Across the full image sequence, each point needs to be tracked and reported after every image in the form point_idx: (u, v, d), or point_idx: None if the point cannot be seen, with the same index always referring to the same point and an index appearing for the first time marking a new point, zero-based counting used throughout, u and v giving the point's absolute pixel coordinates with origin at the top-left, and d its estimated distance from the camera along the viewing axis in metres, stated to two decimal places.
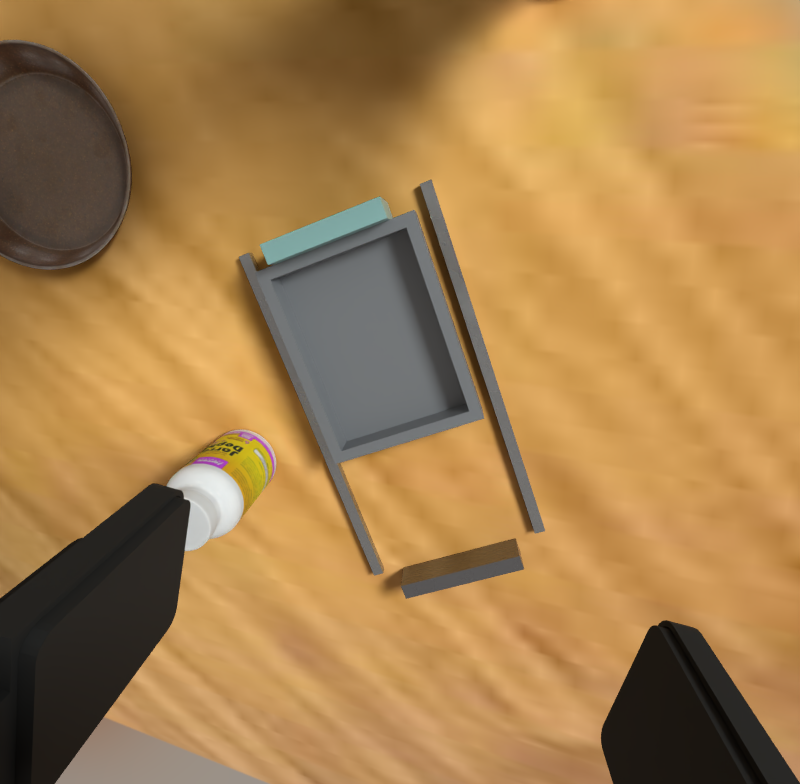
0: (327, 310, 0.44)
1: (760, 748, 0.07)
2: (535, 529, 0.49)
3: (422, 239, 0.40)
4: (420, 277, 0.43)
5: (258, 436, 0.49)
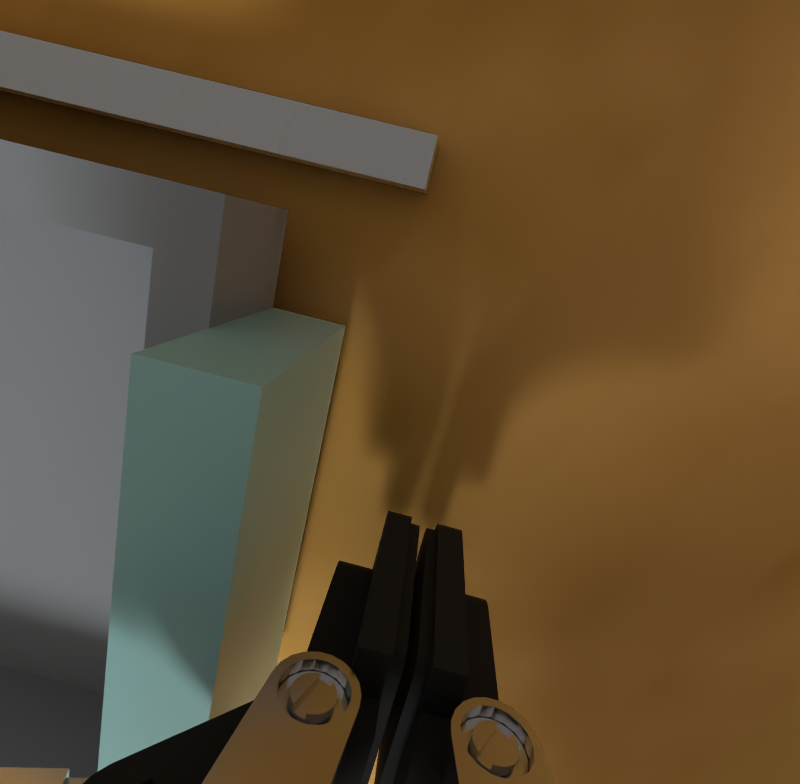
0: (25, 342, 0.11)
1: (449, 603, 0.08)
2: None
3: None
4: (15, 657, 0.13)
5: None
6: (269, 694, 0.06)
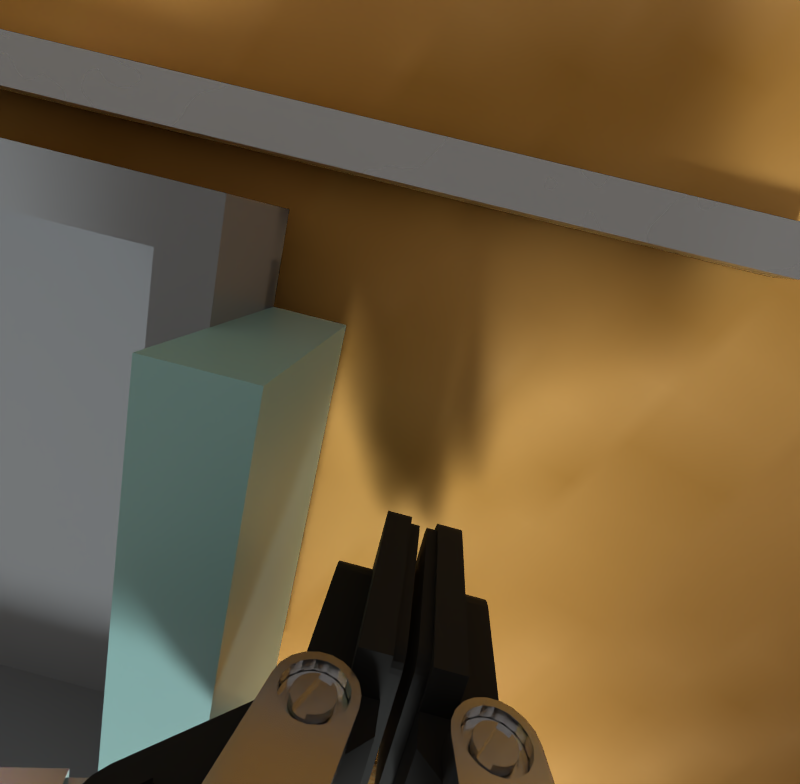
0: (26, 342, 0.11)
1: (449, 603, 0.08)
2: None
3: None
4: (16, 656, 0.13)
5: None
6: (269, 694, 0.06)
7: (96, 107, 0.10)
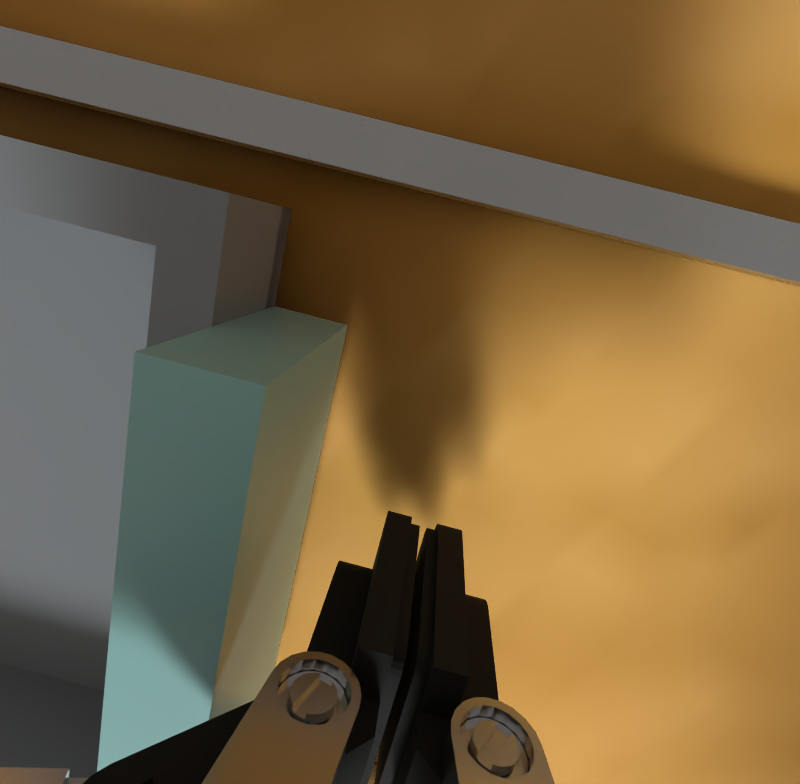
0: (27, 340, 0.11)
1: (449, 603, 0.08)
2: None
3: None
4: (14, 654, 0.13)
5: None
6: (269, 694, 0.06)
7: (315, 159, 0.10)
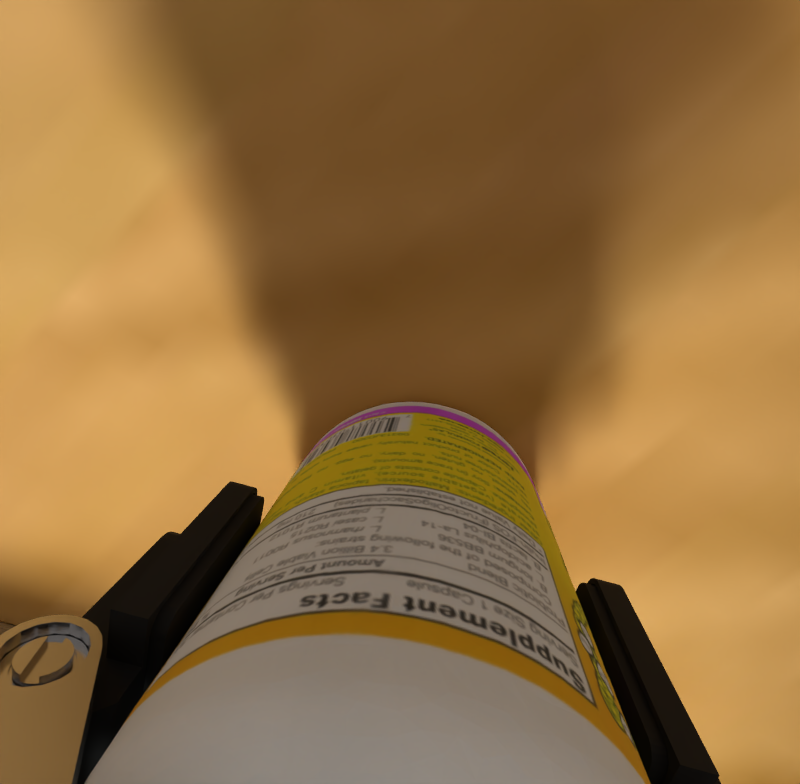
0: None
1: (655, 680, 0.08)
2: None
3: None
4: None
5: None
6: None
7: None
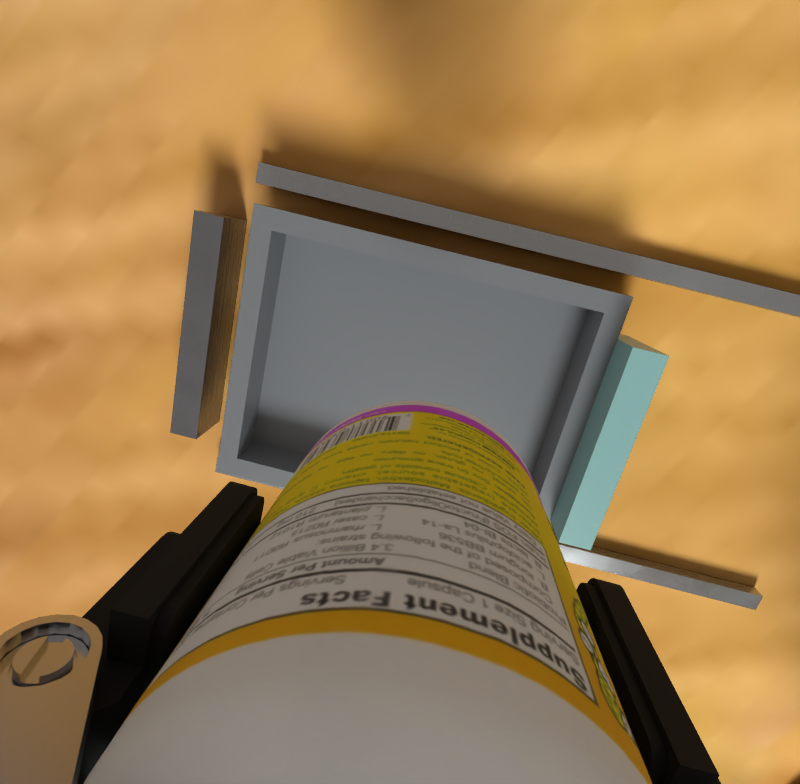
0: (497, 343, 0.27)
1: (655, 680, 0.08)
2: None
3: None
4: None
5: None
6: None
7: (626, 273, 0.26)
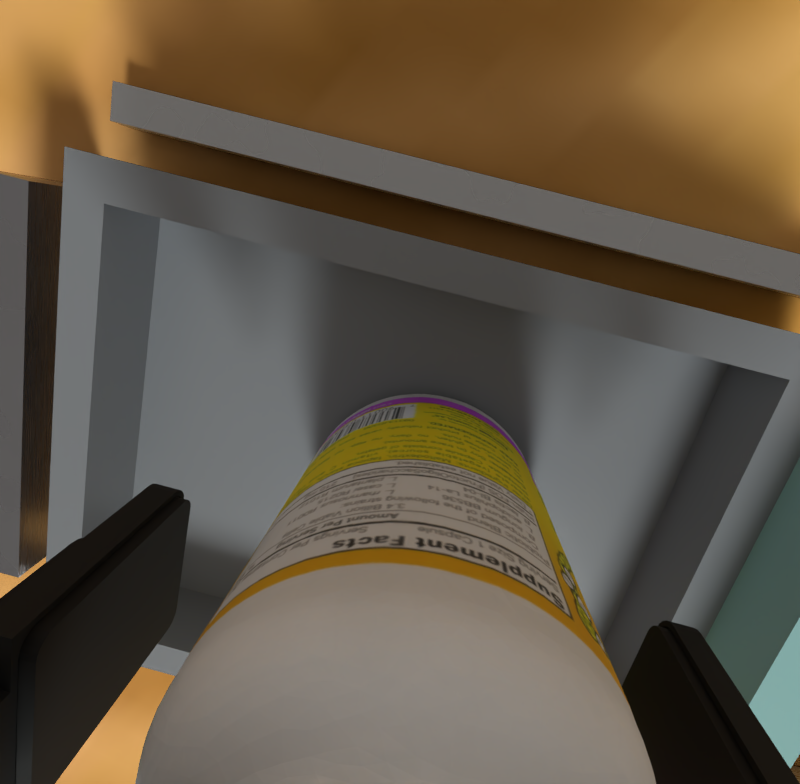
0: (552, 419, 0.14)
1: (760, 748, 0.07)
2: None
3: None
4: None
5: None
6: None
7: None
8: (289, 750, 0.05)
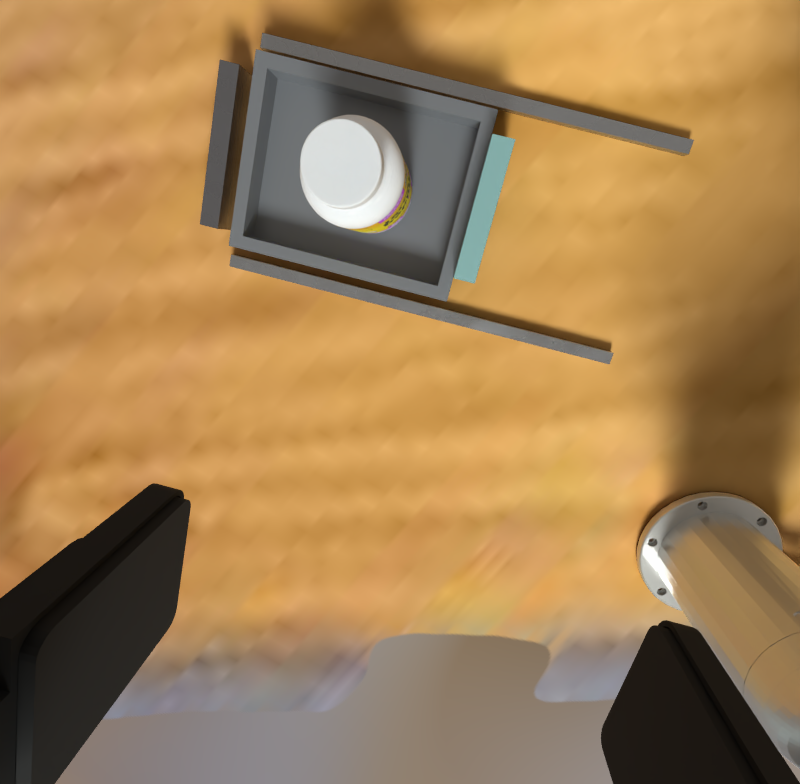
0: (419, 157, 0.40)
1: (760, 748, 0.07)
2: (235, 257, 0.44)
3: (418, 293, 0.40)
4: (391, 267, 0.42)
5: None
6: None
7: (506, 108, 0.39)
8: None
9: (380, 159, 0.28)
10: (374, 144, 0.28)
